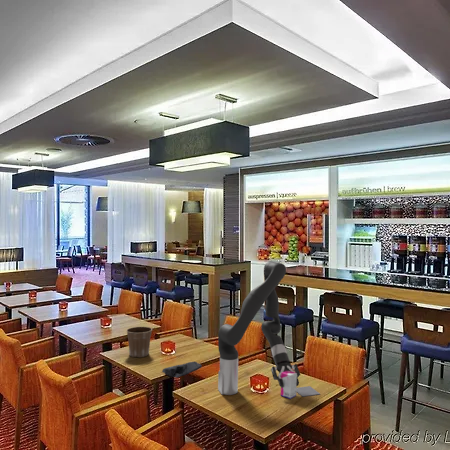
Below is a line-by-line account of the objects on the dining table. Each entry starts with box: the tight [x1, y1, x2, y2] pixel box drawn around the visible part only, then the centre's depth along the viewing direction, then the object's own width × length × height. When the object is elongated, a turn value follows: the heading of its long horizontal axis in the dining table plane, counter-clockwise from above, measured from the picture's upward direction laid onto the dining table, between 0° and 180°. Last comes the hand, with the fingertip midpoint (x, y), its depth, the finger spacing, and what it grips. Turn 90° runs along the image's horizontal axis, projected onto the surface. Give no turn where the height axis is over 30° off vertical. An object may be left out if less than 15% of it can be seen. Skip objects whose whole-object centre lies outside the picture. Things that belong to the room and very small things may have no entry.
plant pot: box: [125, 326, 153, 358], centre depth 260 cm, size 16×16×16 cm
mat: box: [296, 385, 321, 398], centre depth 206 cm, size 10×10×1 cm
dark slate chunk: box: [161, 361, 203, 379], centre depth 233 cm, size 15×22×5 cm
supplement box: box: [280, 371, 298, 400], centre depth 200 cm, size 6×6×12 cm
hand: (290, 386), depth 199 cm, fingers closed on supplement box, 7 cm apart
